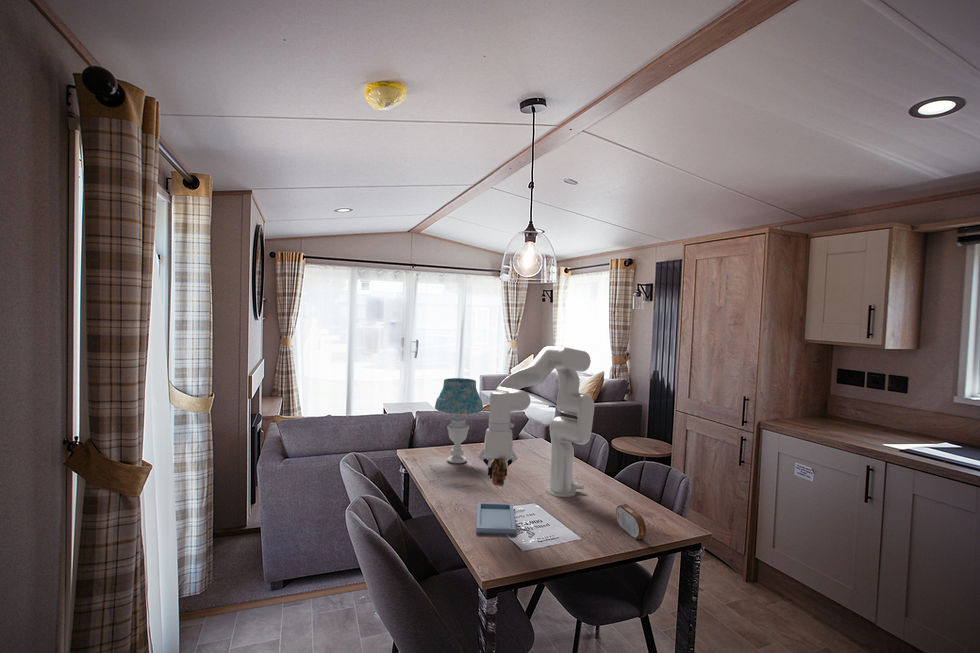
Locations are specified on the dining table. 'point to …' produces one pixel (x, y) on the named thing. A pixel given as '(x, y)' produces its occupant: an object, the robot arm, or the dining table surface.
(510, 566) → the dining table surface
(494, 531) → the tray
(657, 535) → the dining table surface
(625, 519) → the tin
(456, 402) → the table lamp
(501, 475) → the wooden carving
